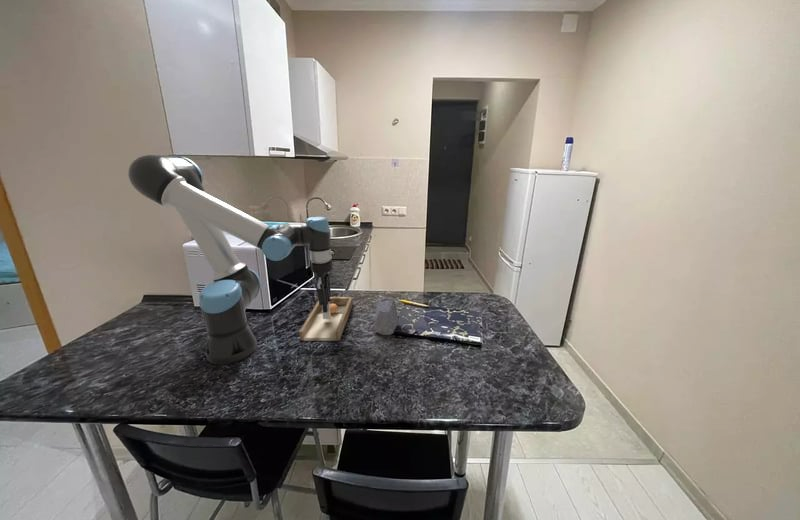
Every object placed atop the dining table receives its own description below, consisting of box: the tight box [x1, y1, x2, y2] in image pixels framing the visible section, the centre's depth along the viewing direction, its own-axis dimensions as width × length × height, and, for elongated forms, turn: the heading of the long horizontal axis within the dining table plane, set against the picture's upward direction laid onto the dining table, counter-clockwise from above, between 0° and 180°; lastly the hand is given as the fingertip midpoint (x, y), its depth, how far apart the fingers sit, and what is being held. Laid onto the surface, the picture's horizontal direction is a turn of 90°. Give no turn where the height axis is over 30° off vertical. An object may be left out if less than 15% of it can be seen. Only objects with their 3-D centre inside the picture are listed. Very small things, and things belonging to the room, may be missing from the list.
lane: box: [298, 296, 354, 342], centre depth 121 cm, size 14×28×4 cm, turn 179°
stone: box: [373, 298, 399, 336], centre depth 113 cm, size 12×10×10 cm
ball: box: [330, 304, 338, 313], centre depth 124 cm, size 4×4×4 cm
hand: (326, 318), depth 117 cm, fingers closed
